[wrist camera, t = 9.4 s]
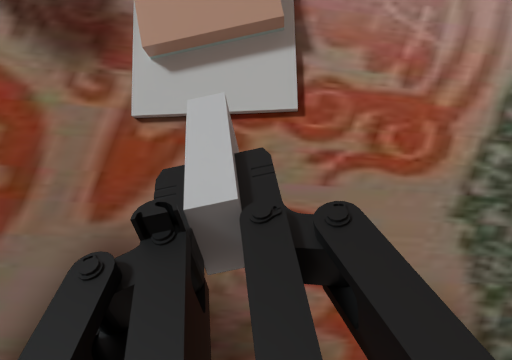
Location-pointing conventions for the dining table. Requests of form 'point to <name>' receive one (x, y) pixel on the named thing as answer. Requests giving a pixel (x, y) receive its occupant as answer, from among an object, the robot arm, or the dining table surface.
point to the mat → (219, 74)
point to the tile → (203, 23)
